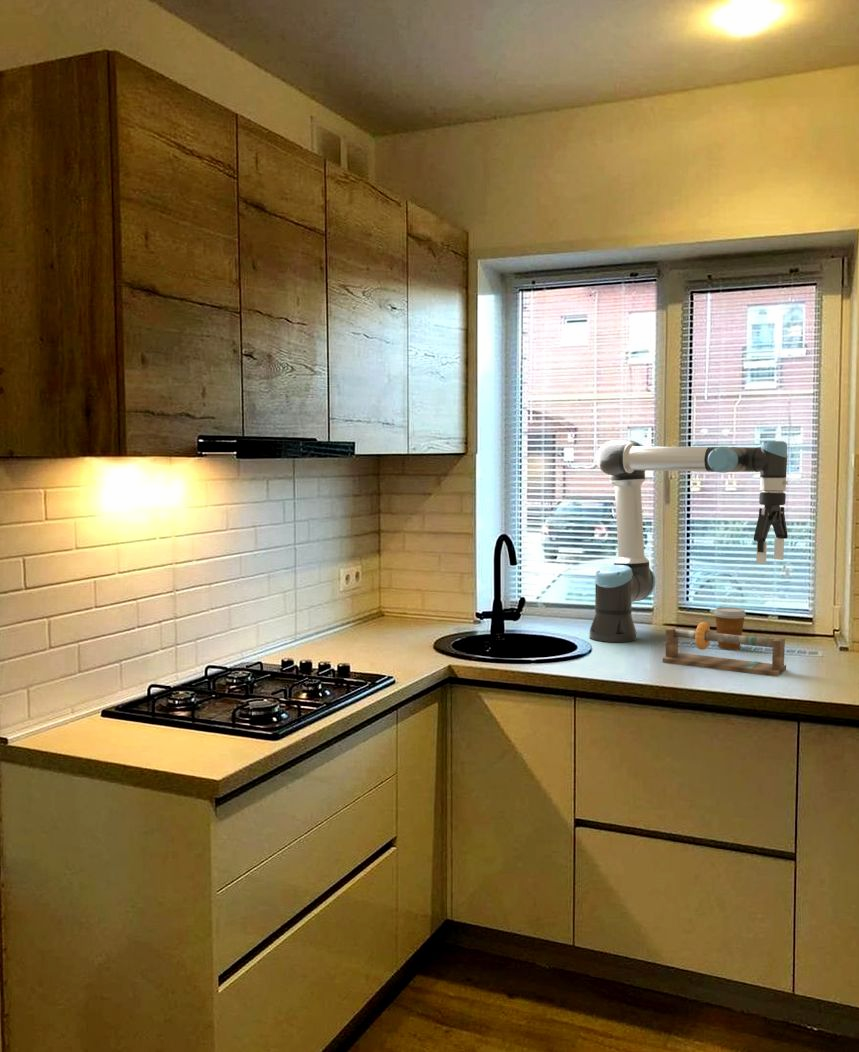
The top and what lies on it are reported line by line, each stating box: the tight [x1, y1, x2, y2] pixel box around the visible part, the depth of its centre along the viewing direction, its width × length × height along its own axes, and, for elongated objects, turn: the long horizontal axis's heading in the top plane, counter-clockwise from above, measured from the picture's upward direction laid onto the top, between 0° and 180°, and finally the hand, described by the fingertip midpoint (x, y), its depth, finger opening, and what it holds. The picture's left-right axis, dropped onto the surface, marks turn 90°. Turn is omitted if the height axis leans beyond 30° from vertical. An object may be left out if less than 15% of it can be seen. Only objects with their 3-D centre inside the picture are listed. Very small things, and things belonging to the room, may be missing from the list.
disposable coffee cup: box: [713, 606, 747, 650], centre depth 292 cm, size 10×10×12 cm
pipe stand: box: [661, 626, 787, 677], centre depth 266 cm, size 32×10×9 cm, turn 56°
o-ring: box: [694, 621, 711, 651], centre depth 269 cm, size 3×8×8 cm, turn 146°
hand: (770, 561), depth 287 cm, fingers open, 13 cm apart
